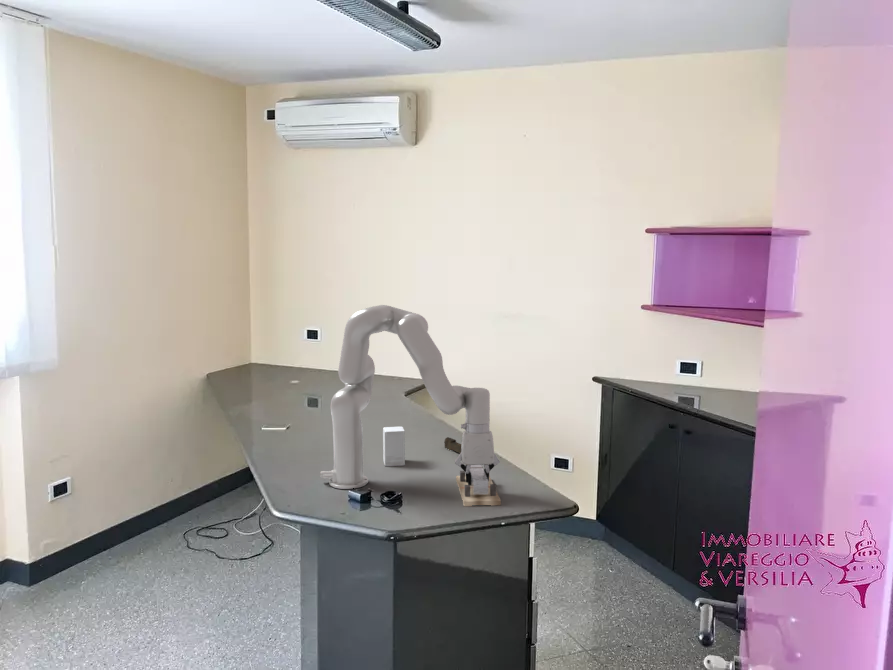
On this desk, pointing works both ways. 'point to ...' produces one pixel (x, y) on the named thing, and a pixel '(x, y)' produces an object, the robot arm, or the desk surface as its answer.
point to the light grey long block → (478, 480)
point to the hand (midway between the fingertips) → (477, 483)
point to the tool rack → (472, 499)
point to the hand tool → (452, 445)
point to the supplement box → (393, 446)
